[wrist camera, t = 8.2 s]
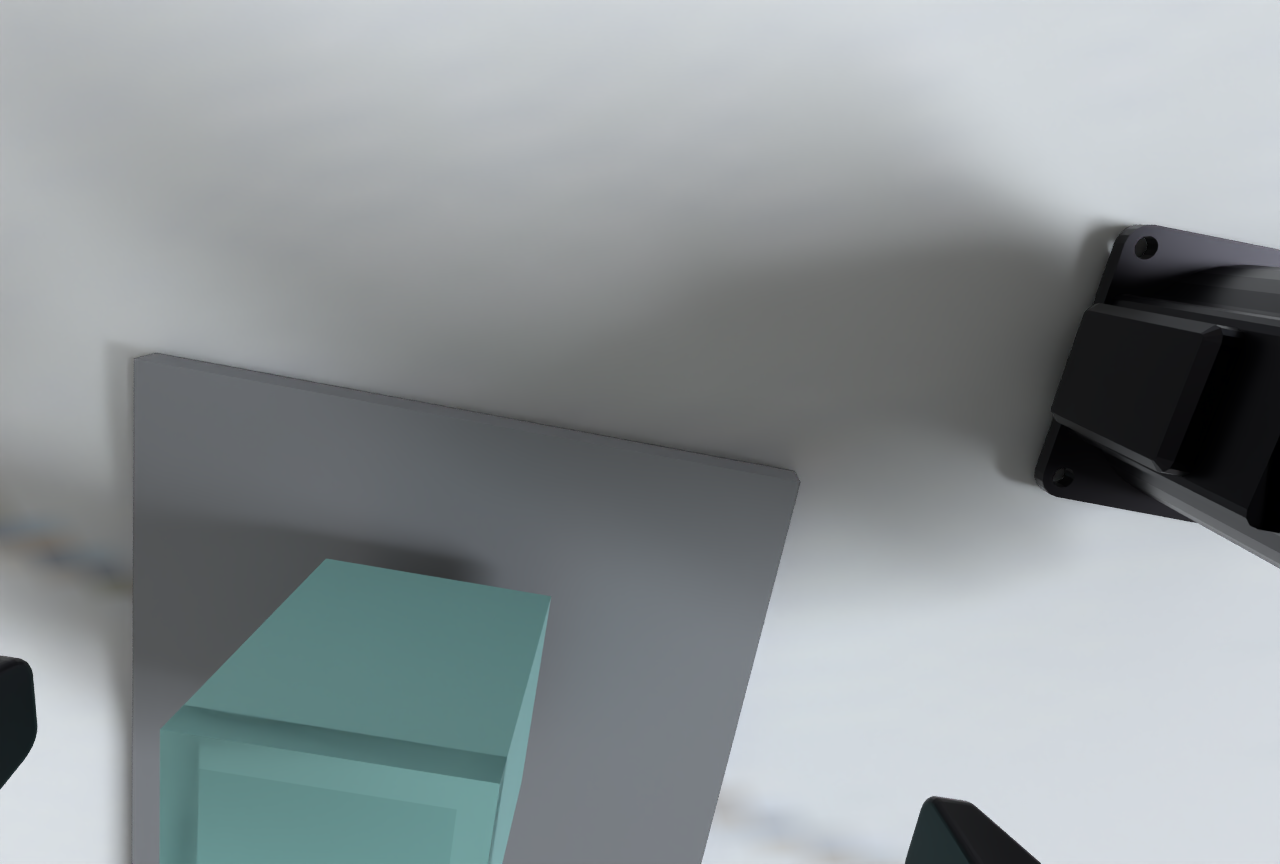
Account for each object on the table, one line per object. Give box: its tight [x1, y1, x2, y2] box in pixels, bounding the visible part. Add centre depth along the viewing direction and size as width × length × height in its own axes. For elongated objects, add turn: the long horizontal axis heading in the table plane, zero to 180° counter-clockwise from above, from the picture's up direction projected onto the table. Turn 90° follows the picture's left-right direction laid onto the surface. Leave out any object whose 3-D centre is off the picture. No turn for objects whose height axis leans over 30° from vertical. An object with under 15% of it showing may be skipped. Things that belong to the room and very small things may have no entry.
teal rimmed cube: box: [159, 559, 551, 864], centre depth 15 cm, size 5×5×6 cm
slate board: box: [132, 353, 800, 864], centre depth 22 cm, size 16×26×1 cm, turn 169°
